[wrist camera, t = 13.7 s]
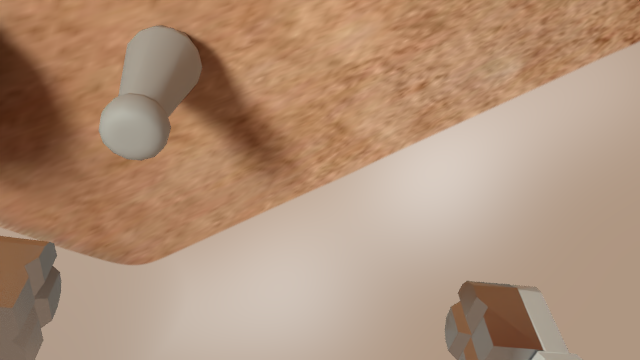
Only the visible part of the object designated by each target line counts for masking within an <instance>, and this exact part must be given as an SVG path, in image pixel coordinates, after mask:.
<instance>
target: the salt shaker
mask: <svg viewBox="0 0 640 360" xmlns="http://www.w3.org/2000/svg"><path fill="white" fill-rule="evenodd" d="M201 71H202V64H201V60H200V56H199V52H198V49H197V48H196V47H195V45H194V44H193V43H192V41H191V40H190V39H189V37H188V36H187V35H186V33H184V32H181V31H178V30H175V29H173V28H169V27H166V26H163V25H161V26H153V27H150V28H147V29H144V30H141V31H139V32H138V33H137V34H136V36H135V37H134V38H133V39H132V40H131V41H130V42H129V43H128V45H127V50H126V55H125V62H124V68H123V73H122V79H121V85H120V90H119V96H118V97H116V98H114V99H113V100H112V101H111V102H110V103H109V104H108V105H107V106H106V107H105V108H104V110H103V111H102V114H101V120H100V126H99V133H100V135H101V138H102V141H103V143H104V144H105V145H106V146H107V147H108V148H109V149H110V150H111V151H112V152H113V153H115V154H117V155H119V156H122V157H124V158H126V159H131V160H145V159H149V158H152V157H155V156H156V155H157V154H158V153H159V152H160V151H161V150H162V149H163V148H164V147H165V145H166V144H167V140H168V137H169V133H170V129H171V126H170V122H169V119H168V117H169V116H170V115H171V113H172V112H173V111H174V110H175V109H176V107H177V106H178V105H179V104H180V103H181V101H182V100H183V99H184V98H185V97H186V96H187V94H188V93H189V92H190V91H191V90H192V89H193V87H194V86H195V85H196V84H197V83H198V80H199V77H200V74H201Z"/></svg>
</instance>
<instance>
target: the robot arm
mask: <svg viewBox="0 0 640 360" xmlns="http://www.w3.org/2000/svg"><path fill="white" fill-rule="evenodd" d="M56 257H57V254H56V250H55V245H54V243H51V242H46V241H38V240H29V239H20V238H12V237H4V236H0V360H35V358H36V355H37V353H38V351H39V349H40V346H41V344H42V342H43V336H42V332H41V328H42V327H43V326H45V325H46V324H47V323H49V322H50V321H51V320H52V319H53V316H54V314H55V312H56V309H57V307H58V302H59V298H60V293H61V278H60V272H59V271H58V270H57V269H56V268H54V267H53V266H52V265H53V263H54V261H55V259H56ZM458 294H459V297H460V301H459V302H458V303H456V304H454V305H453V306H452V307H451V308H450V310H449V313H448V315H447V317H446V325H445V337H446V343H447V347H448V351H449V352H450V353H451V354H452V355H453V356H454V357H455V358H456V359H457V360H583V359H581V358H580V357H579V356H578V355H577V354H571V353H569V351H568V349H567V347H566V345H565V343H564V341H563V338H562V336H561V334H560V332H559V330H558V328H557V325H556V323H555V321H554V319H553V317H552V315H551V313H550V310H549V309H548V306H547V304H546V302H545V300H544V298H543V295H542V293H541V291H540V290H539V289H538V288H536V287H530V286H518V285H509V284H497V283H484V282H472V281H466V282H465V283H464V284H462V286H461V288H460V290H459V292H458Z"/></svg>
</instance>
